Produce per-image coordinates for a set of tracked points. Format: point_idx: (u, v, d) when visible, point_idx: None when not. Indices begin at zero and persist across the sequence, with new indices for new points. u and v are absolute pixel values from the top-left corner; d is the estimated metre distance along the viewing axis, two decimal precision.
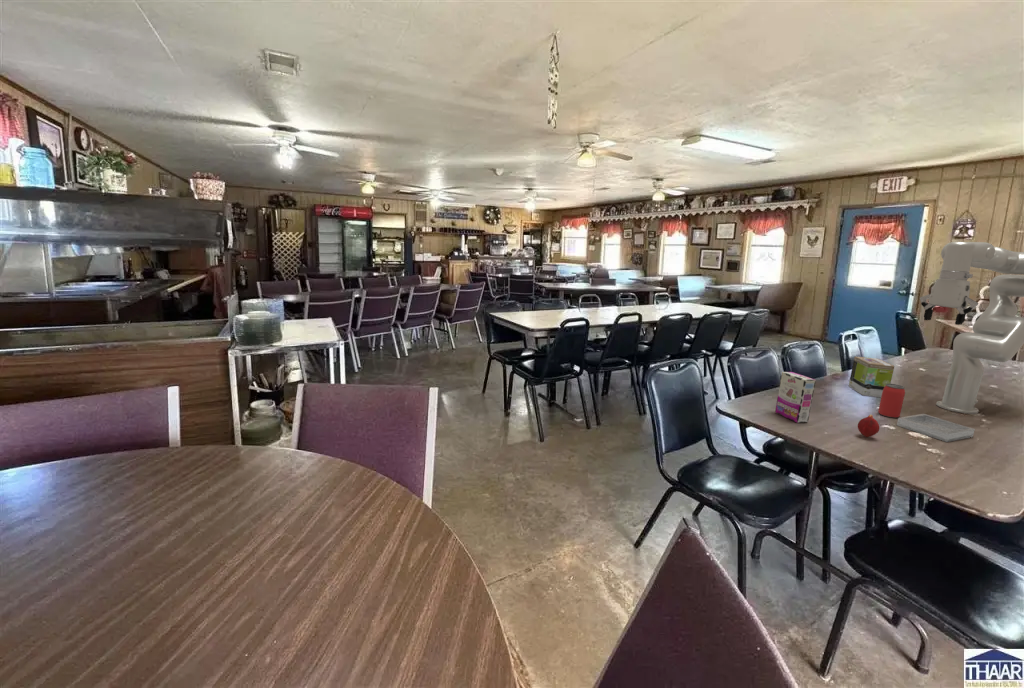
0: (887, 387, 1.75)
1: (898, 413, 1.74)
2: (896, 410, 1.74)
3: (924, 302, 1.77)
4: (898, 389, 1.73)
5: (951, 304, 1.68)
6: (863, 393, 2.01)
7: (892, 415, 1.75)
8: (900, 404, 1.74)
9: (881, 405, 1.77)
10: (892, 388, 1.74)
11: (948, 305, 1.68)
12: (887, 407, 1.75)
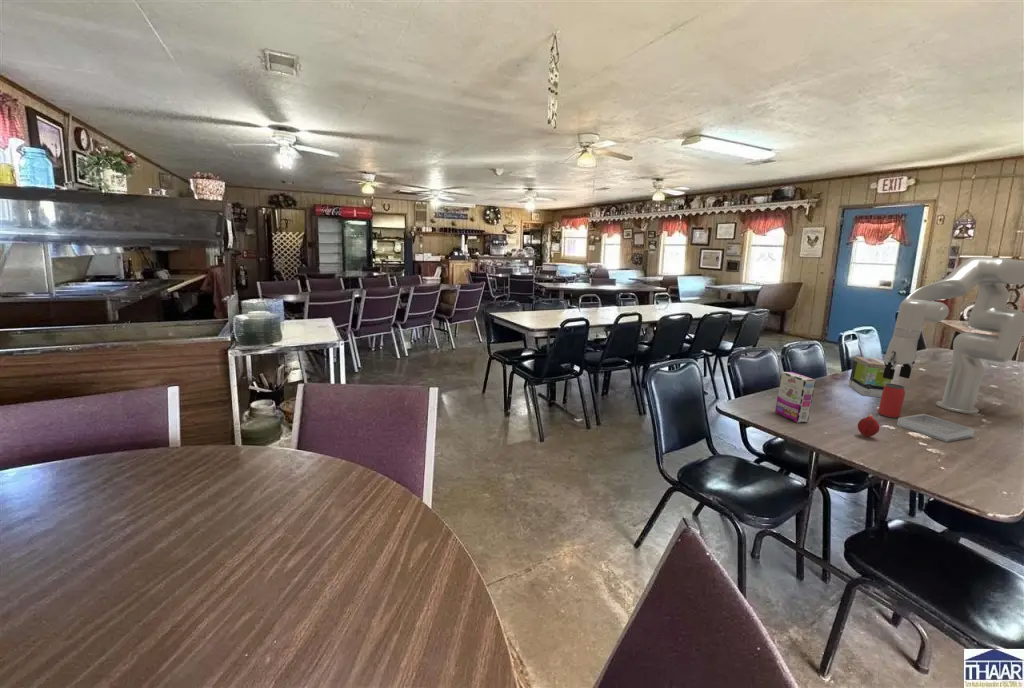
0: (887, 387, 1.75)
1: (898, 413, 1.74)
2: (896, 410, 1.74)
3: None
4: (898, 389, 1.73)
5: (910, 361, 1.72)
6: (863, 393, 2.01)
7: (892, 415, 1.75)
8: (900, 404, 1.74)
9: (881, 405, 1.77)
10: (892, 388, 1.74)
11: (908, 362, 1.72)
12: (887, 407, 1.75)
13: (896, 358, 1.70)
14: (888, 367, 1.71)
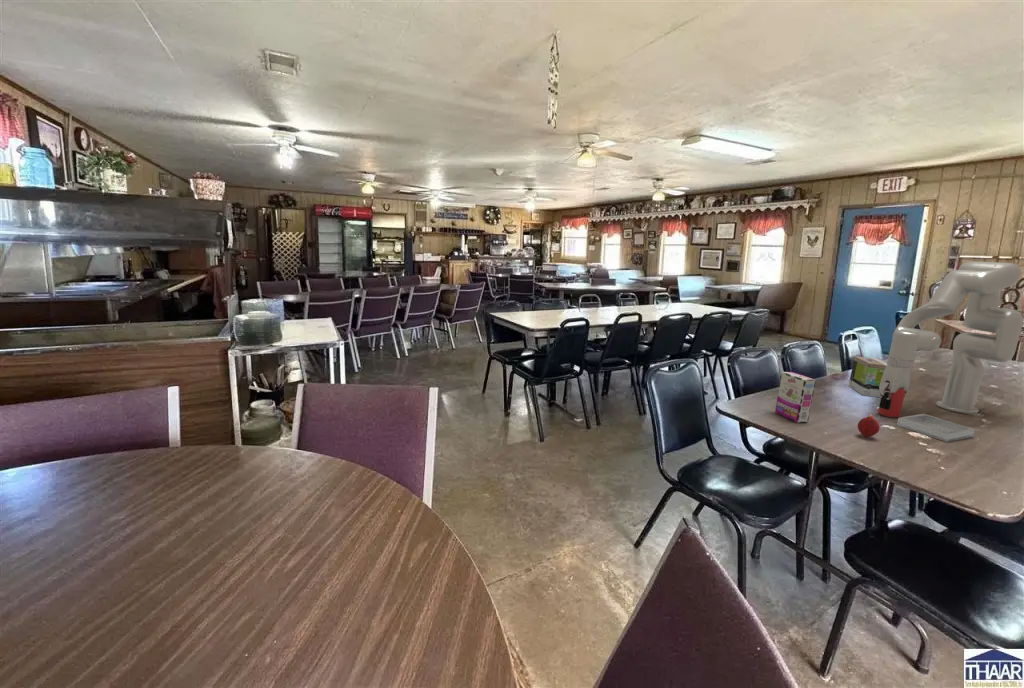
0: None
1: (898, 413, 1.74)
2: (896, 410, 1.74)
3: None
4: (898, 389, 1.73)
5: (904, 389, 1.74)
6: (863, 393, 2.01)
7: (892, 415, 1.75)
8: (900, 404, 1.74)
9: None
10: None
11: None
12: None
13: (890, 389, 1.72)
14: (884, 398, 1.74)
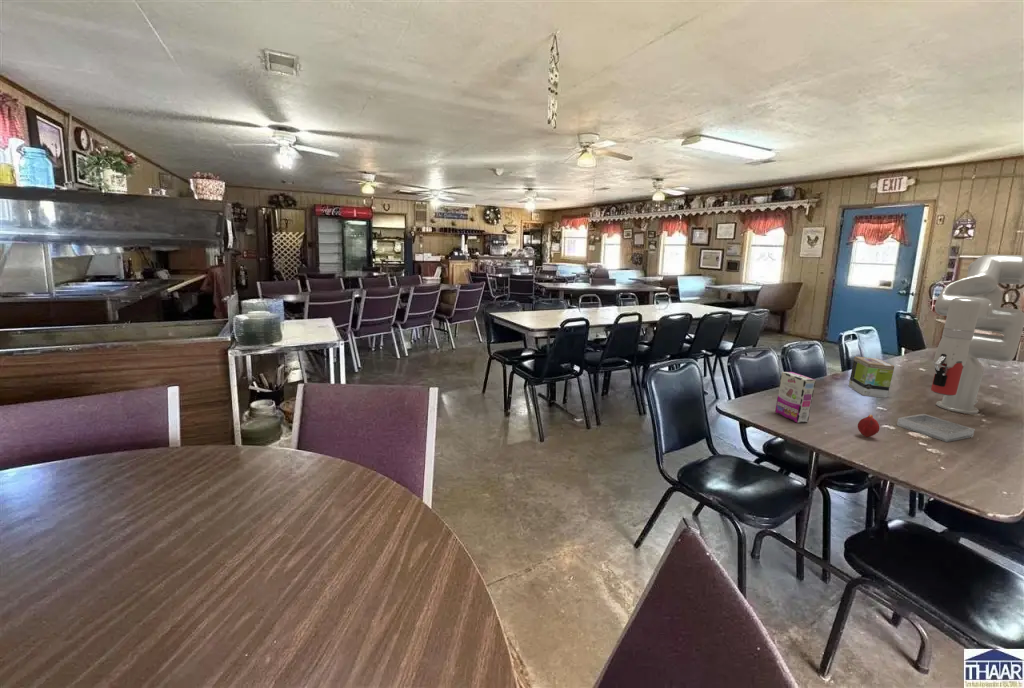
0: None
1: (955, 390, 1.57)
2: (953, 387, 1.56)
3: None
4: None
5: (962, 364, 1.57)
6: (863, 393, 2.01)
7: (948, 393, 1.57)
8: (957, 380, 1.56)
9: None
10: None
11: None
12: None
13: (947, 363, 1.55)
14: (939, 374, 1.57)
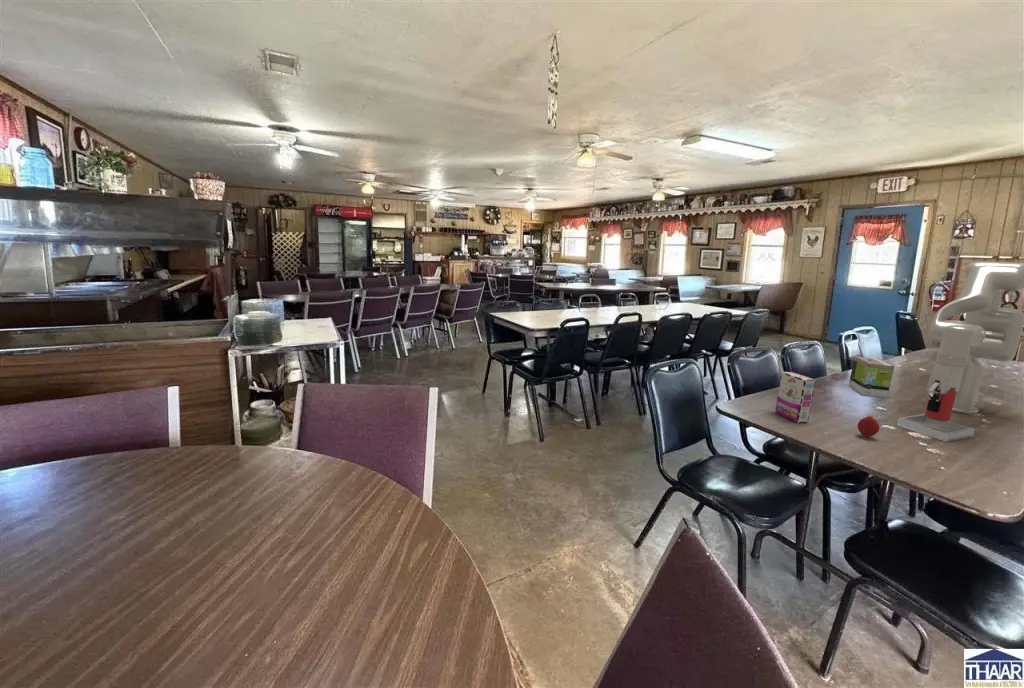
0: None
1: (948, 416, 1.59)
2: (946, 413, 1.58)
3: None
4: (949, 390, 1.57)
5: None
6: (863, 393, 2.01)
7: (942, 418, 1.59)
8: (951, 406, 1.58)
9: None
10: None
11: None
12: None
13: (940, 390, 1.57)
14: (933, 400, 1.59)
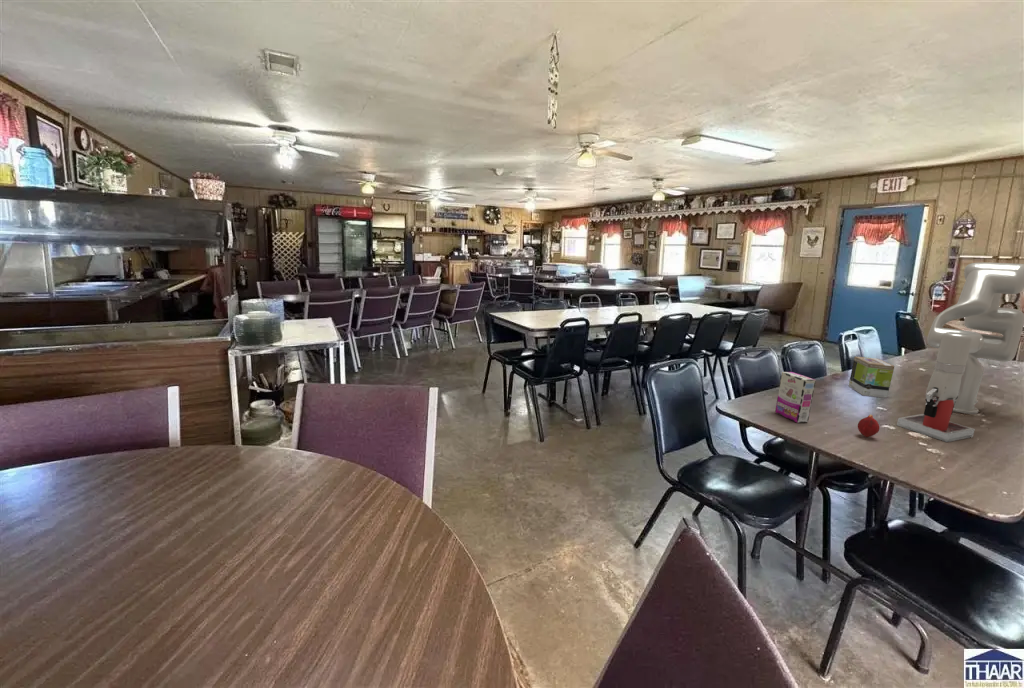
0: None
1: (946, 426, 1.60)
2: (944, 423, 1.59)
3: None
4: (946, 400, 1.58)
5: (954, 397, 1.59)
6: (863, 393, 2.01)
7: (939, 428, 1.60)
8: (948, 416, 1.59)
9: (926, 417, 1.63)
10: None
11: None
12: (933, 419, 1.61)
13: (939, 395, 1.57)
14: (930, 404, 1.59)
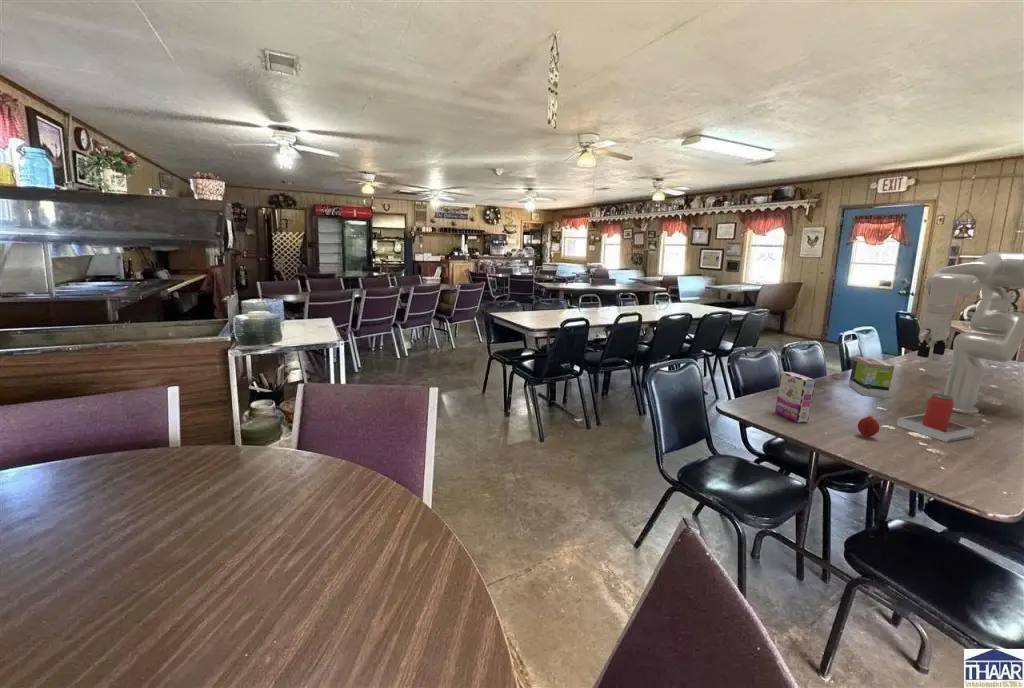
0: (933, 398, 1.61)
1: (946, 426, 1.60)
2: (944, 423, 1.59)
3: None
4: (946, 400, 1.58)
5: (945, 337, 1.67)
6: (863, 393, 2.01)
7: (939, 428, 1.60)
8: (948, 416, 1.59)
9: (926, 417, 1.63)
10: (939, 399, 1.59)
11: (943, 339, 1.67)
12: (933, 419, 1.61)
13: (931, 335, 1.65)
14: (923, 345, 1.66)
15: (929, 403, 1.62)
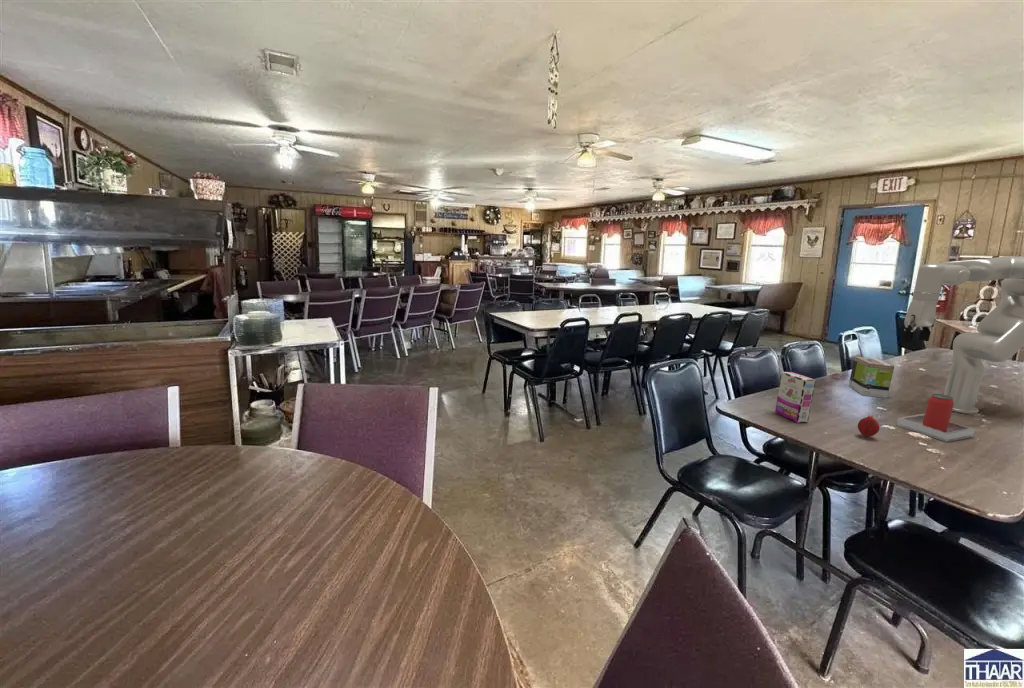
0: (933, 398, 1.61)
1: (946, 426, 1.60)
2: (944, 423, 1.59)
3: None
4: (946, 400, 1.58)
5: (929, 324, 1.76)
6: (863, 393, 2.01)
7: (939, 428, 1.60)
8: (948, 416, 1.59)
9: (926, 417, 1.63)
10: (939, 399, 1.59)
11: (928, 325, 1.76)
12: (933, 419, 1.61)
13: (916, 321, 1.74)
14: (908, 330, 1.75)
15: (929, 403, 1.62)
